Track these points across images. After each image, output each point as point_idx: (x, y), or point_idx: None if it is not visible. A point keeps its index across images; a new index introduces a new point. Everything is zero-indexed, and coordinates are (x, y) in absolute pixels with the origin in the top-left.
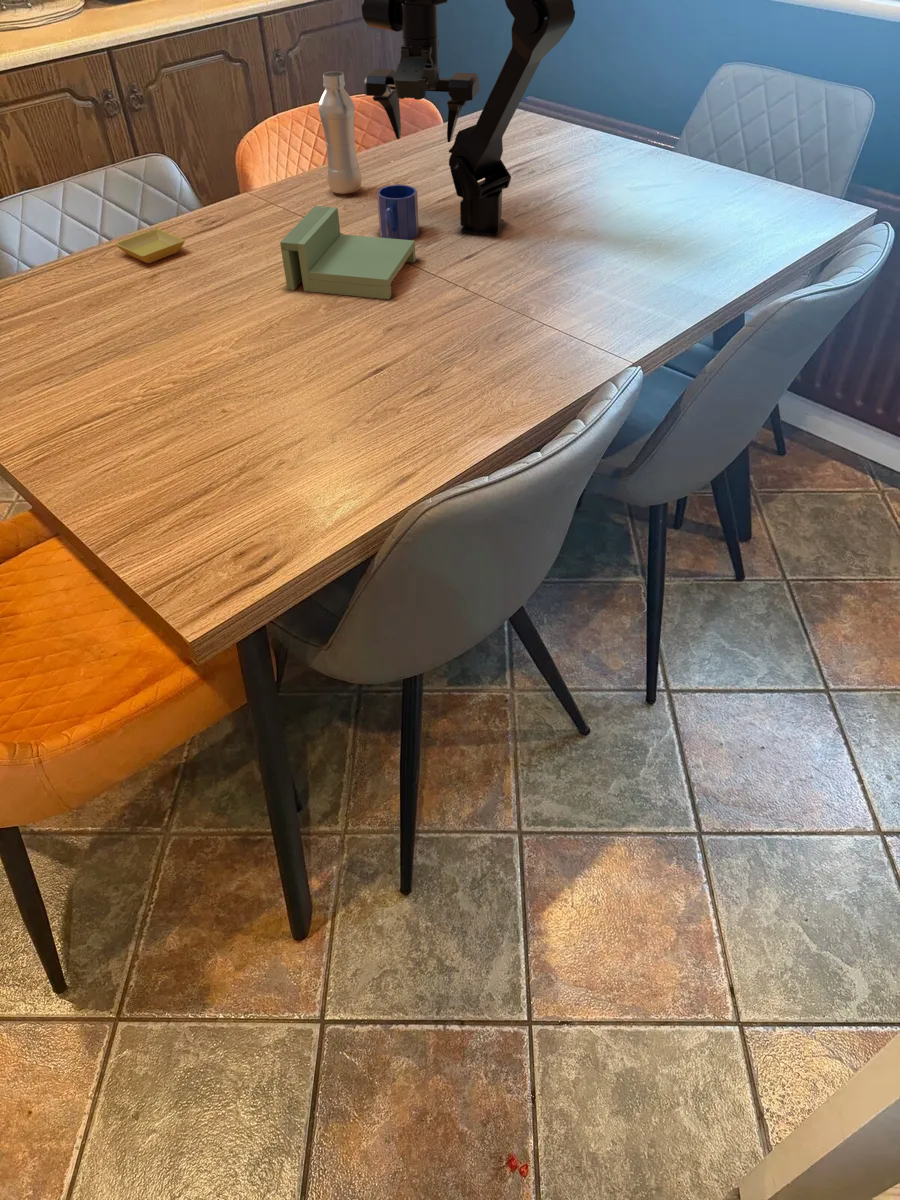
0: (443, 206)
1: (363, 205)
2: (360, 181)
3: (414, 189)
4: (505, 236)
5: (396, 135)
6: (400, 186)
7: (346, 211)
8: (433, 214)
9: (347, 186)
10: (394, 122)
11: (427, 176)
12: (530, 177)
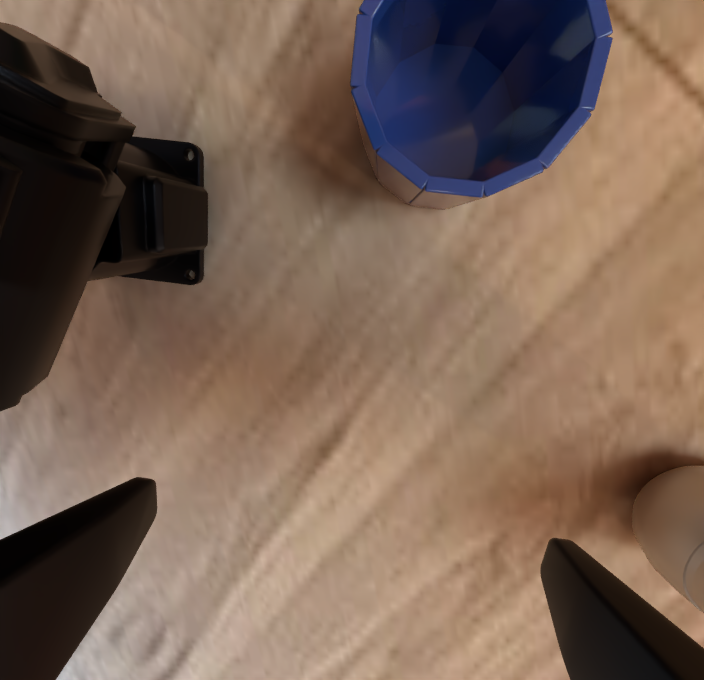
0: (315, 395)
1: (605, 389)
2: (643, 519)
3: (371, 117)
4: None
5: (585, 555)
6: (465, 180)
7: (671, 330)
8: (337, 325)
9: (695, 477)
10: (678, 659)
11: (406, 615)
12: (110, 606)
